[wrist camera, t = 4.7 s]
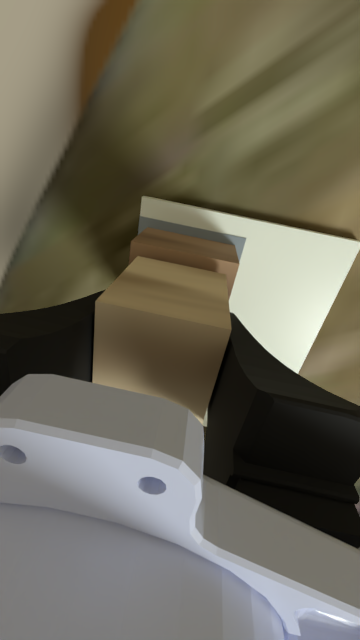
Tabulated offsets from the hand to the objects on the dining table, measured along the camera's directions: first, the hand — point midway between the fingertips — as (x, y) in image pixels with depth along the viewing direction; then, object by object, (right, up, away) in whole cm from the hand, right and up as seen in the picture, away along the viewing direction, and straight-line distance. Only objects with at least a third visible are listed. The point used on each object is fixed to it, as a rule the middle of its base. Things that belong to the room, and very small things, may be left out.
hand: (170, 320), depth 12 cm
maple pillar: (0, +1, +1) cm, 2 cm away
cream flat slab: (+3, -1, +7) cm, 8 cm away
